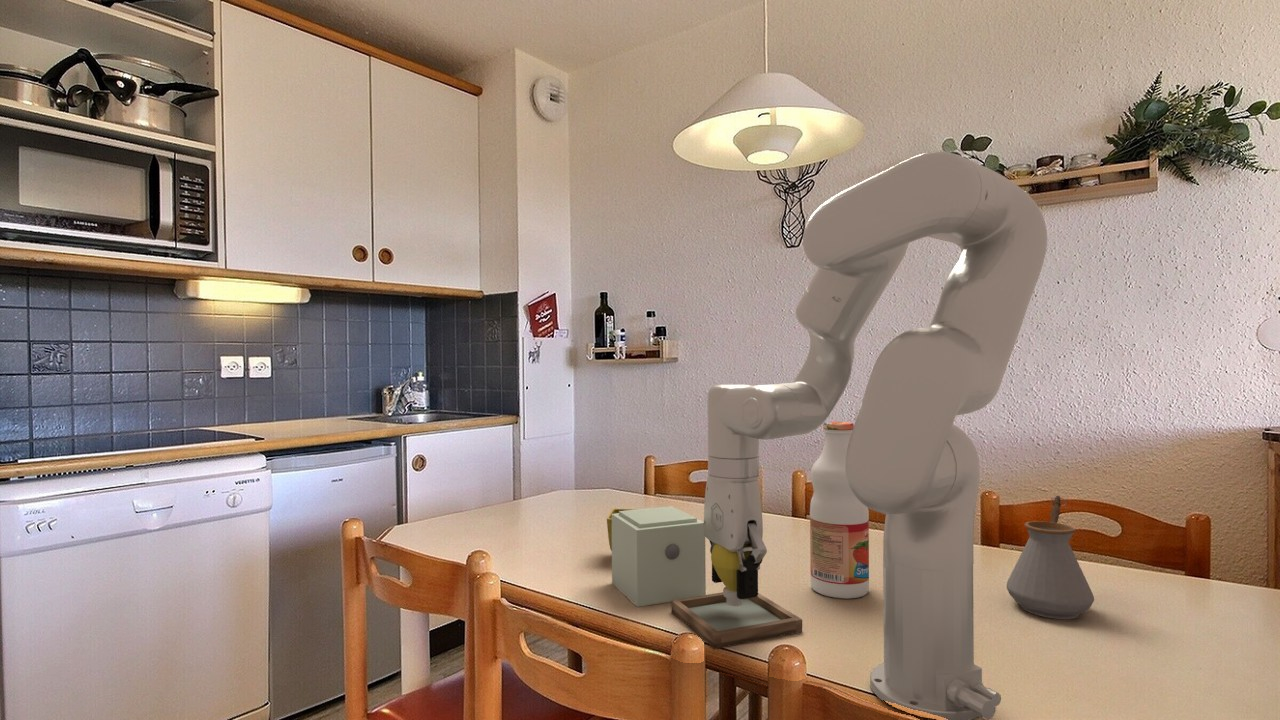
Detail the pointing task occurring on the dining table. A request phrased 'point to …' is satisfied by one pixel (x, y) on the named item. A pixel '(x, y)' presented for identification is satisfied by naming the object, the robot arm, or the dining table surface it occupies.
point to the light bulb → (728, 572)
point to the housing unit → (658, 555)
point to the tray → (735, 619)
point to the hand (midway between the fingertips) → (734, 588)
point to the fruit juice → (837, 522)
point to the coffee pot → (1050, 572)
